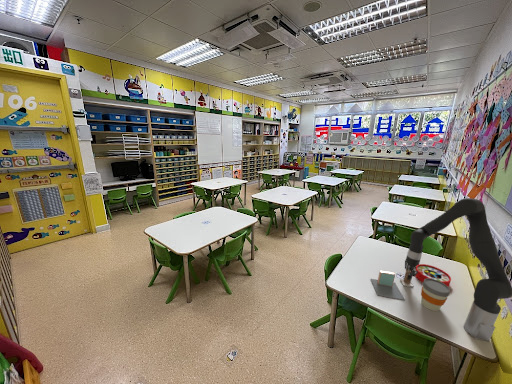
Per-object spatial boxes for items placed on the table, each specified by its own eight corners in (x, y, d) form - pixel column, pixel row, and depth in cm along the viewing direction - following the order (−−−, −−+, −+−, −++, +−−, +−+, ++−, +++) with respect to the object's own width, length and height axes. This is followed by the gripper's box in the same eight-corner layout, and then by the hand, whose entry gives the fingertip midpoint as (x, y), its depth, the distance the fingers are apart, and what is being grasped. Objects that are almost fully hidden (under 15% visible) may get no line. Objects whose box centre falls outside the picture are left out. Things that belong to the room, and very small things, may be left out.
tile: (392, 286, 142) (395, 274, 139) (378, 284, 144) (380, 272, 141) (391, 284, 144) (394, 272, 141) (377, 282, 146) (379, 270, 143)
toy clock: (410, 262, 161) (439, 266, 158) (408, 268, 163) (437, 272, 159) (425, 279, 142) (458, 284, 139) (423, 286, 144) (456, 291, 141)
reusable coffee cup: (444, 317, 120) (452, 296, 116) (418, 306, 127) (424, 286, 122) (441, 303, 130) (448, 283, 126) (417, 294, 137) (422, 275, 132)
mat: (404, 300, 131) (405, 299, 131) (377, 295, 135) (377, 294, 135) (394, 283, 146) (395, 282, 146) (370, 279, 150) (370, 278, 150)
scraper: (413, 287, 143) (417, 274, 140) (403, 285, 144) (407, 272, 141) (409, 281, 148) (412, 268, 145) (399, 280, 150) (403, 267, 147)
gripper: (425, 263, 133) (419, 285, 138) (415, 251, 146) (409, 272, 151) (412, 261, 134) (406, 283, 139) (403, 250, 147) (397, 270, 152)
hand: (408, 277), depth 145 cm, fingers closed on scraper, 3 cm apart
